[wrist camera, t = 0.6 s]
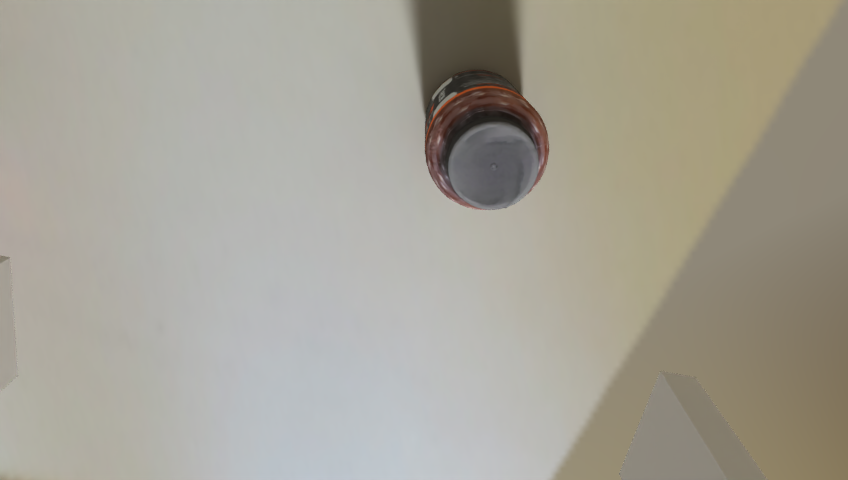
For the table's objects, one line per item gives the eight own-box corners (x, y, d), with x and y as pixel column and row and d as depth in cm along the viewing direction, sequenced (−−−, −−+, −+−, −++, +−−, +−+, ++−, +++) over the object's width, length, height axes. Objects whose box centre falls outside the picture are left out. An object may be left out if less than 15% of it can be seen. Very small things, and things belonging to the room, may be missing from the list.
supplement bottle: (410, 89, 36) (403, 124, 25) (506, 53, 35) (540, 73, 25) (444, 180, 38) (450, 247, 28) (535, 148, 37) (578, 205, 27)
